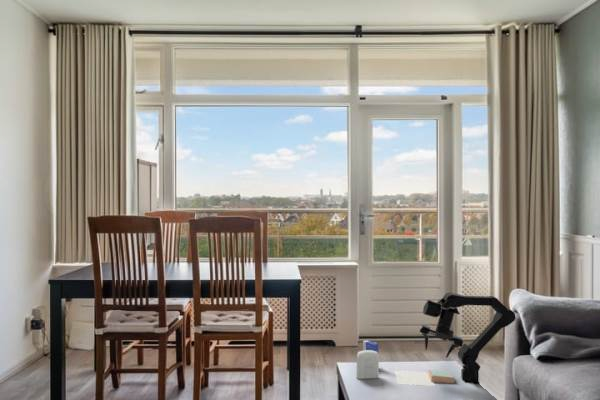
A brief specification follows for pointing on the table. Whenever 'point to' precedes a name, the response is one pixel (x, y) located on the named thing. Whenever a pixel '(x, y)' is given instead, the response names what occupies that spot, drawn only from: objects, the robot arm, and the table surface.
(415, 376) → the mat
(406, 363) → the table surface
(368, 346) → the walkman
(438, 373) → the tile
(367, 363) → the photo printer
